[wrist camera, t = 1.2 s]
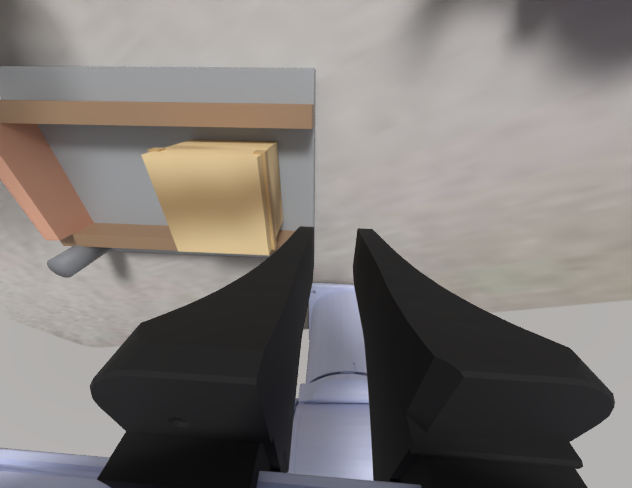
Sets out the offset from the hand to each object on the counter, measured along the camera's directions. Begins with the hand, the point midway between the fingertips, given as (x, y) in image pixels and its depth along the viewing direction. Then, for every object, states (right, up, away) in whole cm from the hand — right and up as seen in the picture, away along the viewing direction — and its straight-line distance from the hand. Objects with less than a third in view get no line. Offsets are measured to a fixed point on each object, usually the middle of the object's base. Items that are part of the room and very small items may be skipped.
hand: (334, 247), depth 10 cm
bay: (-11, +6, +8) cm, 15 cm away
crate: (-6, +5, +7) cm, 11 cm away
